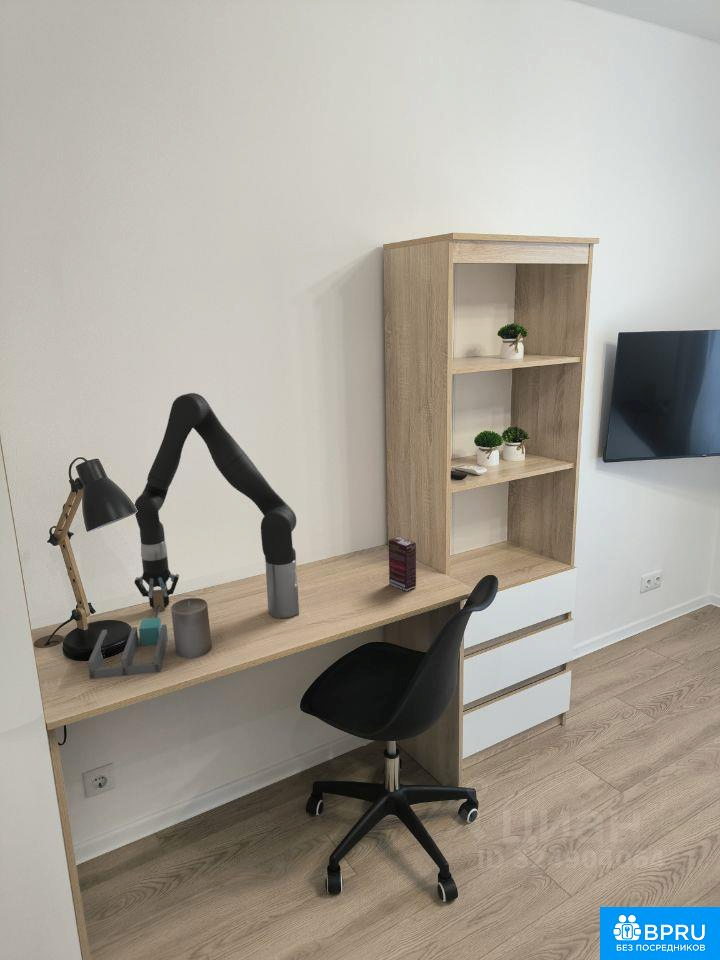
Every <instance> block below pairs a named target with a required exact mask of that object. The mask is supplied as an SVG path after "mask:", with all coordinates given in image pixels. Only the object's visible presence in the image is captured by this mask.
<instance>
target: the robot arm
mask: <svg viewBox="0 0 720 960" xmlns="http://www.w3.org/2000/svg"><path fill="white" fill-rule="evenodd" d="M167 420H168V421H167V425H166V428H165V432H164V435H163V439H162V441H161V443H160V446H159V449H158V451H157V453H156V455H155V458H154V460H153V463H152V466H151V468H150V470H149V472H148V475H147V479H146V485H145V487H144V489H143V491H142V493H141V494H140V495H139V496H138V497H137V498H136V500H135V502H134V506H136V508H137V510H138V512H137V513H136V514H135V513H134V516H135V519H136V522H137V525H138V528H139V537H140V557H141V564H142V575H141V576H139V577H136V578H135V579H134V582H133V583H134V585H135V586H136V588H137V589H138V591H139V593H140V594H141V596H142V597H144V598H145V597H147V598H148V601H149V602H148V603H149V607H150V608H151V609H154V602H153V591H154V590H155V588H156V587H159V588H160V590H162V592H163V595H164V597H163V599H164V608H165V609H166V608H168V606H169V604H170V598H169V597H170V595H173V594H174V593H175V589H176V587H177V585H178V582H179V577H180V575H179V574H178V573H176V574H173V573H171V571H170V569H169V561H168V560H169V559H168V549H167V544H166V540H165V539H166V538H165V529H164V524H163V523H162V521H160V515H159V511H160V510H161V508H162V507H163V504H165V500H166V497H167V494H168V491H169V487H170V486H171V484H172V482H173V480H174V478H175V475H176V474H177V471H178V468H179V466H180V461H181V459H182V458H181V457H182V452H183V448H184V445H185V444H186V443H185V442H186V440H187V438H188V437H189V434H190V433H191V432H192V430H193V429H194V430H195V431H196V433H197V434H198V435H199V436H200V437H201V439H202V440H203V442H204V443H205V445H206V448H207V449H208V452H209V454H210V456H211V459H212V461H213V463H214V465H215V467H216V468H217V470H218V471H219V472H220V474H221V475H222V477H224V479H225V480H226V481H227V483H228V484H229V485H231V486H232V487H233V488H234V489H235V490H237V492H239V493H240V494H243V495H244V496H245V497H246V498H249V500H251V501H252V502H253V503H254V505H256V507H257V508H258V510H259V512H261V514H262V515H263V517H262V519H261V522H260V523H261V524H260V538H261V546H262V552H263V554H264V562H265V575H266V576H265V578H266V595H267V609H268V610H267V612H268V615H269V616H270V617H272V618H275V619H288V618H291V617H293V616H297V615H299V614H300V607H299V605H300V604H299V588H298V585H299V584H298V575H297V571H298V570H297V554H296V553H297V552H296V550H295V548H294V547H293V531H294V529H295V528H296V526H297V516H296V513H295V512H294V510H293V509H292V508H291V506H289V504H287V503H286V501H284V499H283V498H282V497H281V496H280V495H279V494H278V493H277V492H276V491H275V490H274V489H273V488H272V487H271V486H272V485H270V484H269V482H268V481H267V480H266V478H265V477H264V476H263V474H262V473H261V472H260V471H259V469H258V467H256V465H255V464H254V463H253V461H252V460H251V459H250V458H249V456H248V454H247V453H246V452H245V451H244V450H243V448H242V447H240V445H239V443H238V442H237V441H236V440H235V439H234V437H233V436H232V435H231V434H230V432H228V431H227V429H226V428H225V427H224V425H222V423H221V421H220V420H219V418H218V416H217V415H216V413H215V412H214V411H213V409H212V407H211V406H210V404H209V402H208V401H207V400H206V398H204V397H203V396H202V395H200V394H199V393H195V392H190V393H185V394H182V395H180V396H178V397H176V398H175V399H174V400H173V402H172V405H171V408H170V411H169V416H168V419H167ZM169 579H170V581H171V583H172V584H171V586H170V589H169V588H168V585H167V582H168V581H169ZM144 582H145V583H146V584H147V585H148V590H147V588H146V587H145V585H144Z"/></svg>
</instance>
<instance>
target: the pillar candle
mask: <svg viewBox="0 0 720 960" xmlns="http://www.w3.org/2000/svg"><path fill="white" fill-rule="evenodd" d="M170 612H171V613H170V614H171V619H172V620H171V621H172V630H173V638H174V639H173V640H174V645H175V647H174V648H175V654H176V656H178V657H180V658H183V659H196V658H197V659H198V658H201V657H204V656H206V655H207V654H209V653H210V652H211V650H212V646H213V645H212V637H211V627H210V617H209V609H208V602H207V601H206V600H205V599H203V598H199V597H198V598H197V597H191V598H183V599H180V600H178V601H176V602H174V603H173V604H172V605H171V607H170Z"/></svg>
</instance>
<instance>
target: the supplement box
mask: <svg viewBox="0 0 720 960" xmlns="http://www.w3.org/2000/svg"><path fill="white" fill-rule="evenodd" d="M388 570H389V571H388V573H389V574H388V575H389V577H388V579H389V585H390V584H391V585H390V586H392V585H393V587H395V588H397V587H398V588H397V589H399V588H400V590H402V589H403V590H402V591H404V590H405V591H404V592H408V590H409V591H411V590H410V589H412V588H414V589H416V588H417V543H416V542H414V541H411V540H408V539H406V538H403V537H400V536H397V537H394V538H390V539H388ZM415 587H416V588H415ZM412 590H413V589H412Z"/></svg>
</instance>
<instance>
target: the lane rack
mask: <svg viewBox="0 0 720 960" xmlns="http://www.w3.org/2000/svg"><path fill="white" fill-rule="evenodd" d="M106 634H107V635H108V630H107V629H101V632H100V634H99V637H98V639H97V641H96V643H95V645H94V648H93V650H92V652H91V654H90V656H89V659H88V662H87V665H88V672H89V678H90V679H91V680H92V679H93V680H95V679H103V678H105V679H106V678H113V677H124V676H134V675H146V674H147V675H148V674H155V673H161V670H162V666H163V661H164V658H165V655H166V654H165V653H166V649H167V645H168V640H169V637H168V627H167V624H161V630H160V634H159V638H158V642H157V644H155V645H156V647H155V649H154V653H153V661H154V662H147V663H136V664H133V660H134V658H135V655H136V650H137V648H138V646H139V634H138V627H137V626H134V627H133V626H132V627H131V630H130V633H129V635H128V638H127V641H126V644H125V646H124V649H123V651H122V652H123V653H122V655H121V657H120V661H121V662H120V663H121V665H116V666H105V667H104V666H103V667H101V665H102V663H103V661H104V658H103V655H102V653H101V645H102V643H103V640H104V638H105V636H106Z"/></svg>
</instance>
